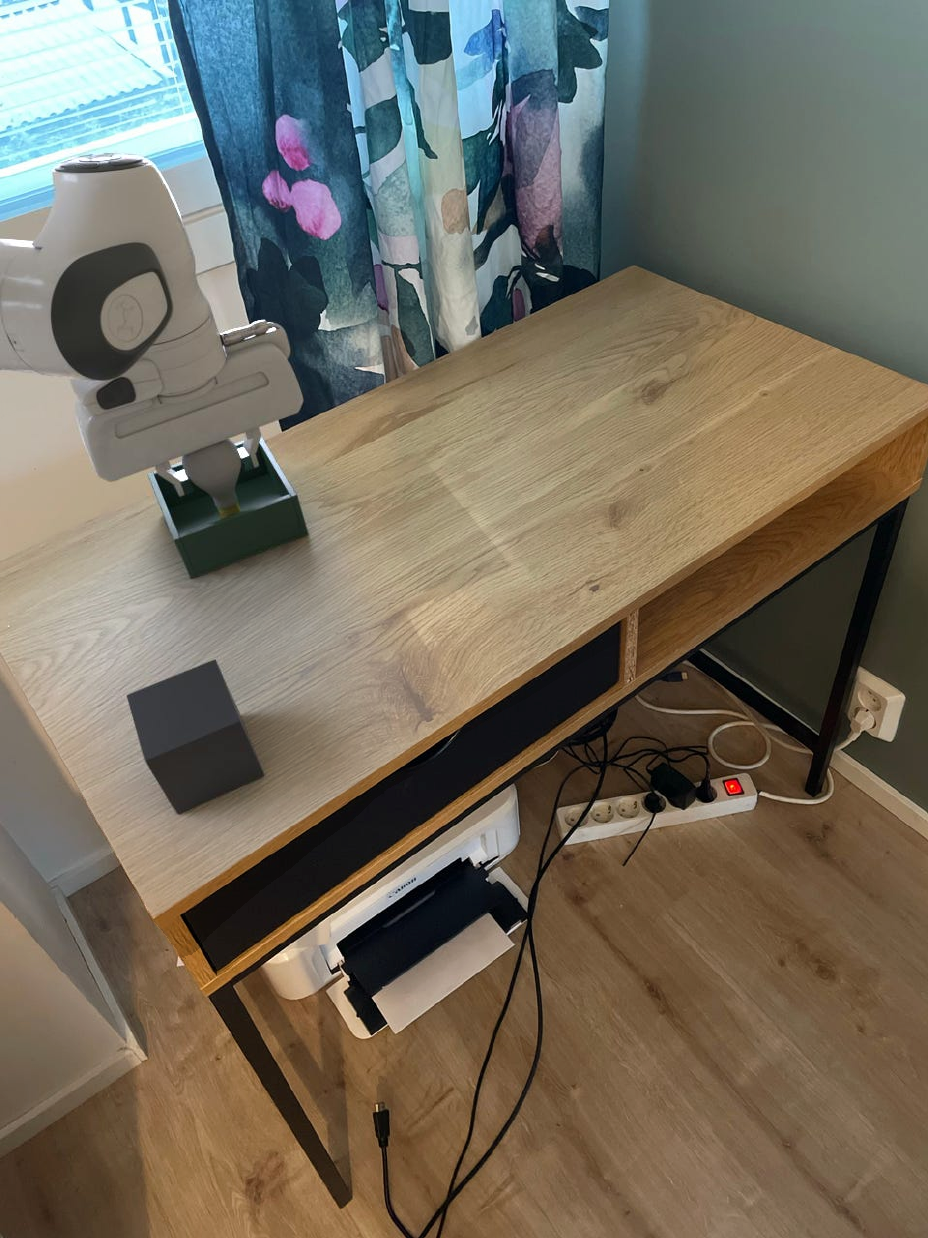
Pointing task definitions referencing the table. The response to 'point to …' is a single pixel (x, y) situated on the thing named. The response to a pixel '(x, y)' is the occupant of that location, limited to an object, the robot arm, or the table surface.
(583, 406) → the table surface
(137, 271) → the robot arm
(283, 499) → the green open square box
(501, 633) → the table surface
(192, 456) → the light bulb
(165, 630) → the table surface
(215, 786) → the block
